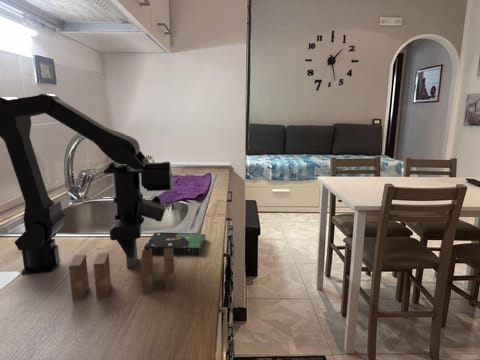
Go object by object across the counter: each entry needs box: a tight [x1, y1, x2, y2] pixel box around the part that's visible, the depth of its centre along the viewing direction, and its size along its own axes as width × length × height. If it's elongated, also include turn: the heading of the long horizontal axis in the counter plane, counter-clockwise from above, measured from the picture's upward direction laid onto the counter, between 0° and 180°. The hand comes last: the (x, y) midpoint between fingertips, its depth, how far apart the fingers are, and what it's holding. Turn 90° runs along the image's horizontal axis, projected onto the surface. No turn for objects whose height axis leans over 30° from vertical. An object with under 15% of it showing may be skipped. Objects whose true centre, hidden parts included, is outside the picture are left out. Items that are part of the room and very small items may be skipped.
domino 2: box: [93, 252, 112, 299], centre depth 69 cm, size 2×5×8 cm, turn 12°
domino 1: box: [68, 253, 90, 302], centre depth 68 cm, size 2×5×8 cm, turn 12°
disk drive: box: [143, 231, 206, 256], centre depth 92 cm, size 10×3×15 cm
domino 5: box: [163, 248, 176, 292], centre depth 72 cm, size 2×5×8 cm, turn 12°
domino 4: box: [140, 249, 155, 294], centre depth 71 cm, size 2×5×8 cm, turn 12°
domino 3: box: [125, 239, 138, 268], centre depth 82 cm, size 2×5×8 cm, turn 12°
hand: (131, 252), depth 82 cm, fingers closed on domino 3, 5 cm apart
